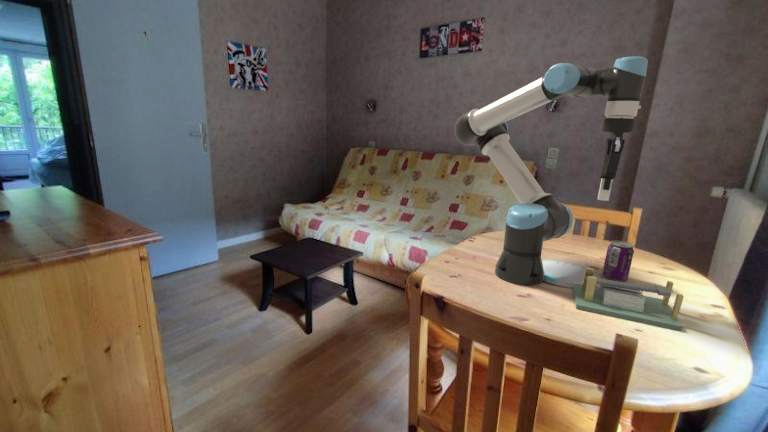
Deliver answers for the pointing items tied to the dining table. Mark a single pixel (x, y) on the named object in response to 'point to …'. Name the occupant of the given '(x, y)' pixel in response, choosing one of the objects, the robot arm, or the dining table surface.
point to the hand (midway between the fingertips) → (602, 199)
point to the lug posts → (590, 287)
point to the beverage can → (618, 260)
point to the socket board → (651, 314)
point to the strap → (634, 286)
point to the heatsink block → (622, 298)
